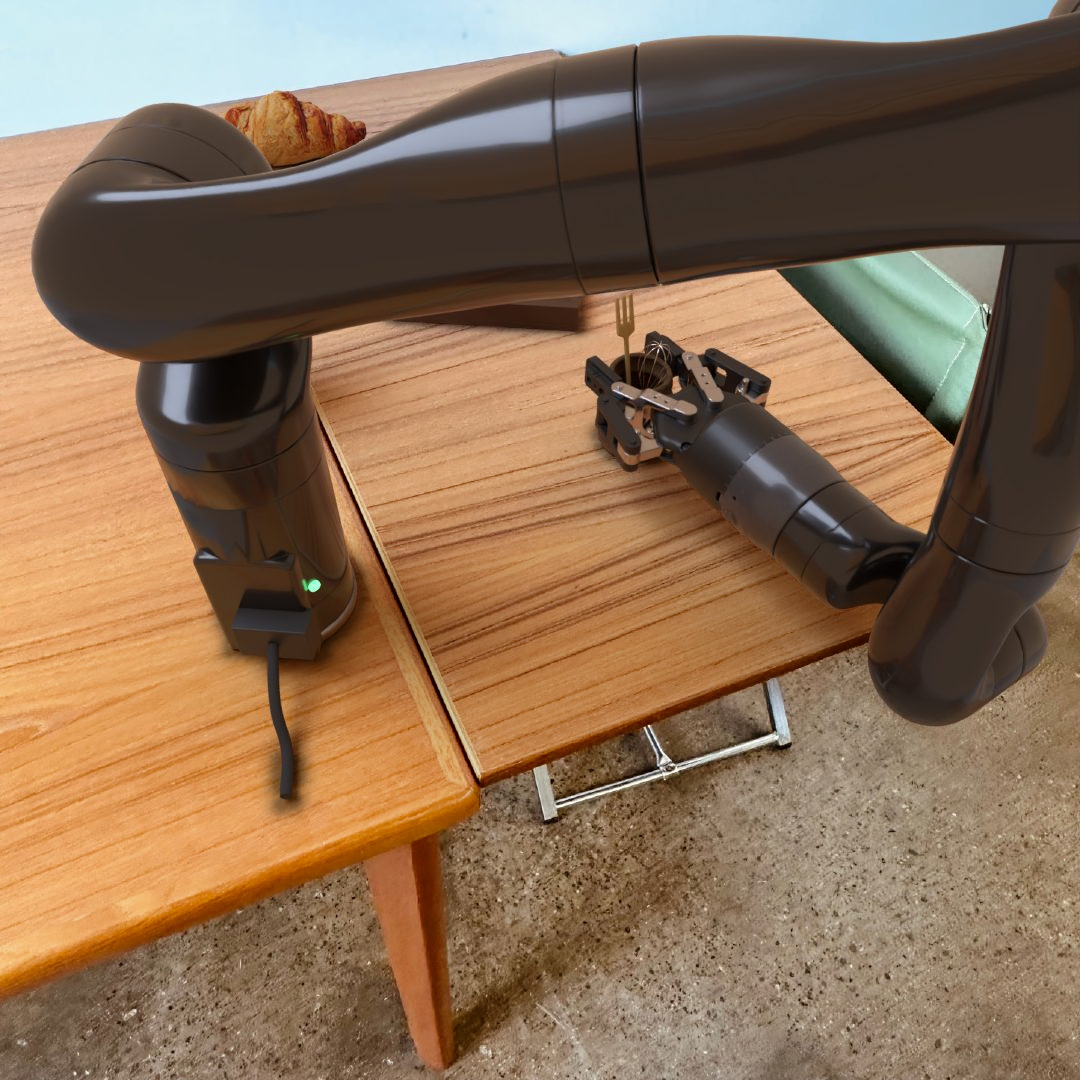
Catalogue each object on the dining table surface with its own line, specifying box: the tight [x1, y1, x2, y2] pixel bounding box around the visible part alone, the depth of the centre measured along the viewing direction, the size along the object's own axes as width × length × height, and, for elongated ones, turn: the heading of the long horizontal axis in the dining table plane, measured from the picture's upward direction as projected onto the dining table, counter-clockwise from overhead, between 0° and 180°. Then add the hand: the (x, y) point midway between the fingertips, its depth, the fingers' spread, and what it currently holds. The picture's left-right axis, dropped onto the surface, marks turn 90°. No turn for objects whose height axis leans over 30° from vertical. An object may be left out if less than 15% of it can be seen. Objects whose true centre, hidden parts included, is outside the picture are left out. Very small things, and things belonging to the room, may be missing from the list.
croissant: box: [217, 89, 368, 167], centre depth 105 cm, size 21×10×8 cm, turn 93°
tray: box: [394, 296, 581, 332], centre depth 92 cm, size 22×18×3 cm
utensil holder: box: [597, 292, 674, 456], centre depth 72 cm, size 6×6×12 cm
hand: (619, 354), depth 72 cm, fingers closed on utensil holder, 5 cm apart
